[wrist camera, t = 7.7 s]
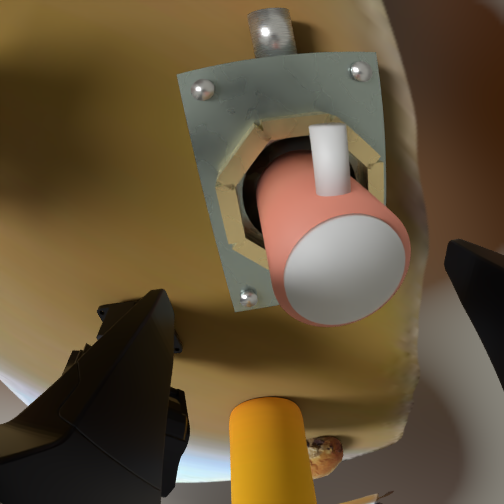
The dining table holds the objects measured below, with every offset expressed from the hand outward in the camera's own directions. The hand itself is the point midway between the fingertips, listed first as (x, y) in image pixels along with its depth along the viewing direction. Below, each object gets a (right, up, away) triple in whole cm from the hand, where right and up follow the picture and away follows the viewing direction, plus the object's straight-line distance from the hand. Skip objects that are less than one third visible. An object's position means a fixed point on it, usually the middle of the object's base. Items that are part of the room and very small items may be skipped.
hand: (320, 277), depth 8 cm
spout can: (+1, +5, +8) cm, 9 cm away
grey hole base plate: (0, +7, +11) cm, 13 cm away
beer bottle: (0, -20, +26) cm, 33 cm away
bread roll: (+9, -33, +35) cm, 48 cm away
